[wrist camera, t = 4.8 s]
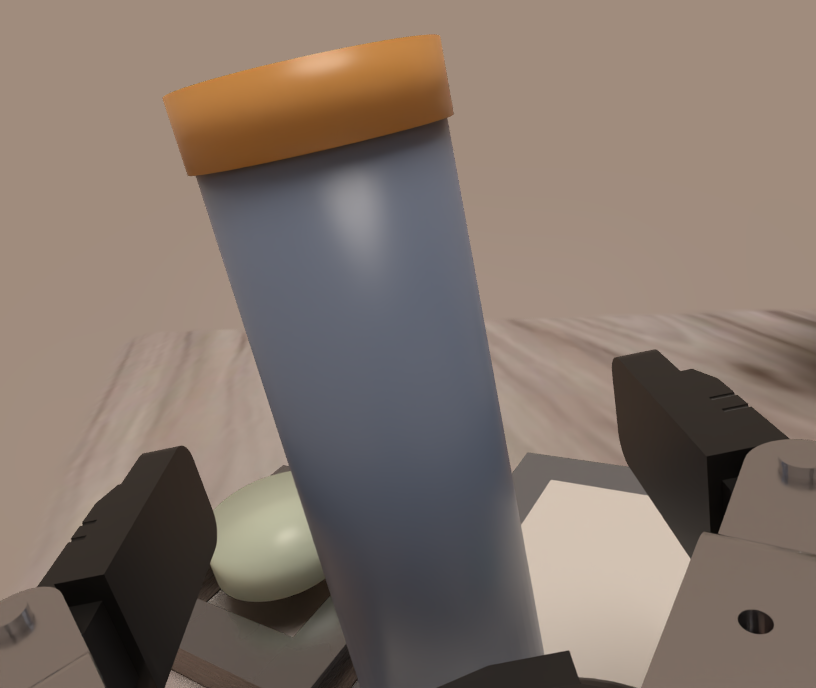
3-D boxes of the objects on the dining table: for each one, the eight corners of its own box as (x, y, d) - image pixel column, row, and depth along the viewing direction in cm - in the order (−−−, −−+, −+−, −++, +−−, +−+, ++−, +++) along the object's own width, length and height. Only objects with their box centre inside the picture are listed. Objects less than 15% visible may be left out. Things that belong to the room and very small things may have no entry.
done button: (283, 495, 23) (272, 461, 23) (383, 519, 21) (373, 481, 20) (185, 579, 20) (170, 542, 19) (290, 620, 17) (275, 578, 17)
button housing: (291, 490, 26) (283, 465, 25) (467, 531, 21) (461, 500, 21) (117, 641, 20) (103, 610, 20) (310, 741, 15) (296, 705, 15)
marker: (441, 653, 16) (295, 81, 11) (592, 707, 14) (488, 27, 9) (348, 794, 13) (104, 112, 9) (520, 889, 11) (317, 45, 6)
